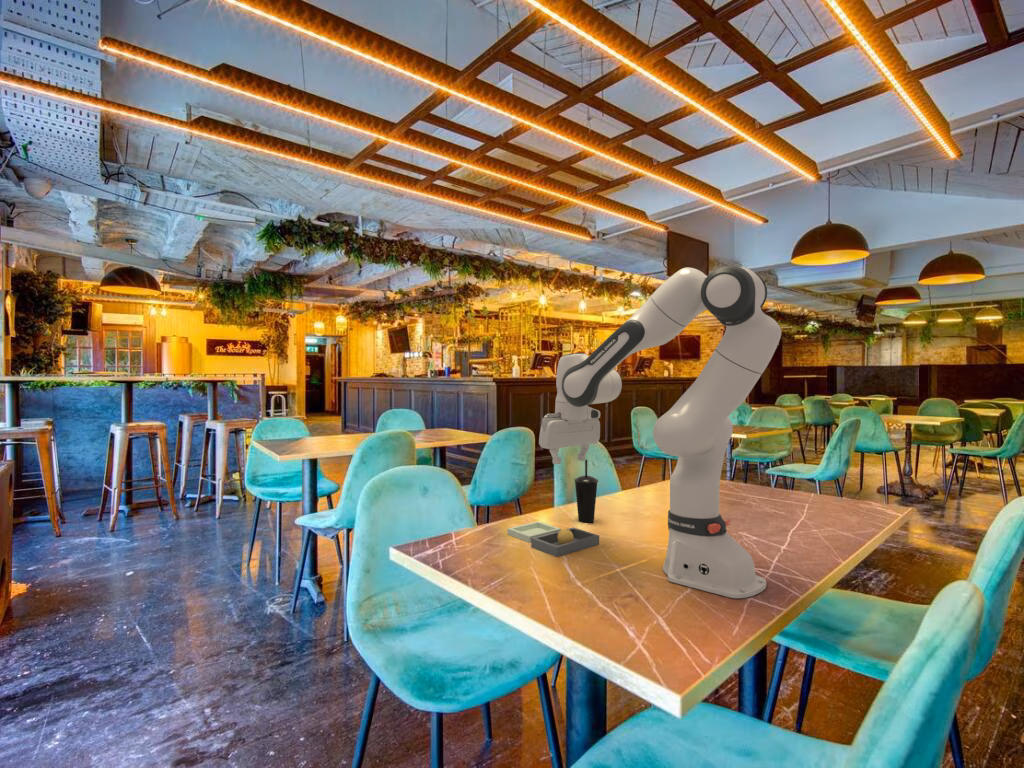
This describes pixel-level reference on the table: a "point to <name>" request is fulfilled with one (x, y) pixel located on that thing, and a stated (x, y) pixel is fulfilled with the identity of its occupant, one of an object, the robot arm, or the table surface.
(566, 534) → the ball
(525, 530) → the tray
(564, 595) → the table surface
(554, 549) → the dish
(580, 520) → the drinking cup
